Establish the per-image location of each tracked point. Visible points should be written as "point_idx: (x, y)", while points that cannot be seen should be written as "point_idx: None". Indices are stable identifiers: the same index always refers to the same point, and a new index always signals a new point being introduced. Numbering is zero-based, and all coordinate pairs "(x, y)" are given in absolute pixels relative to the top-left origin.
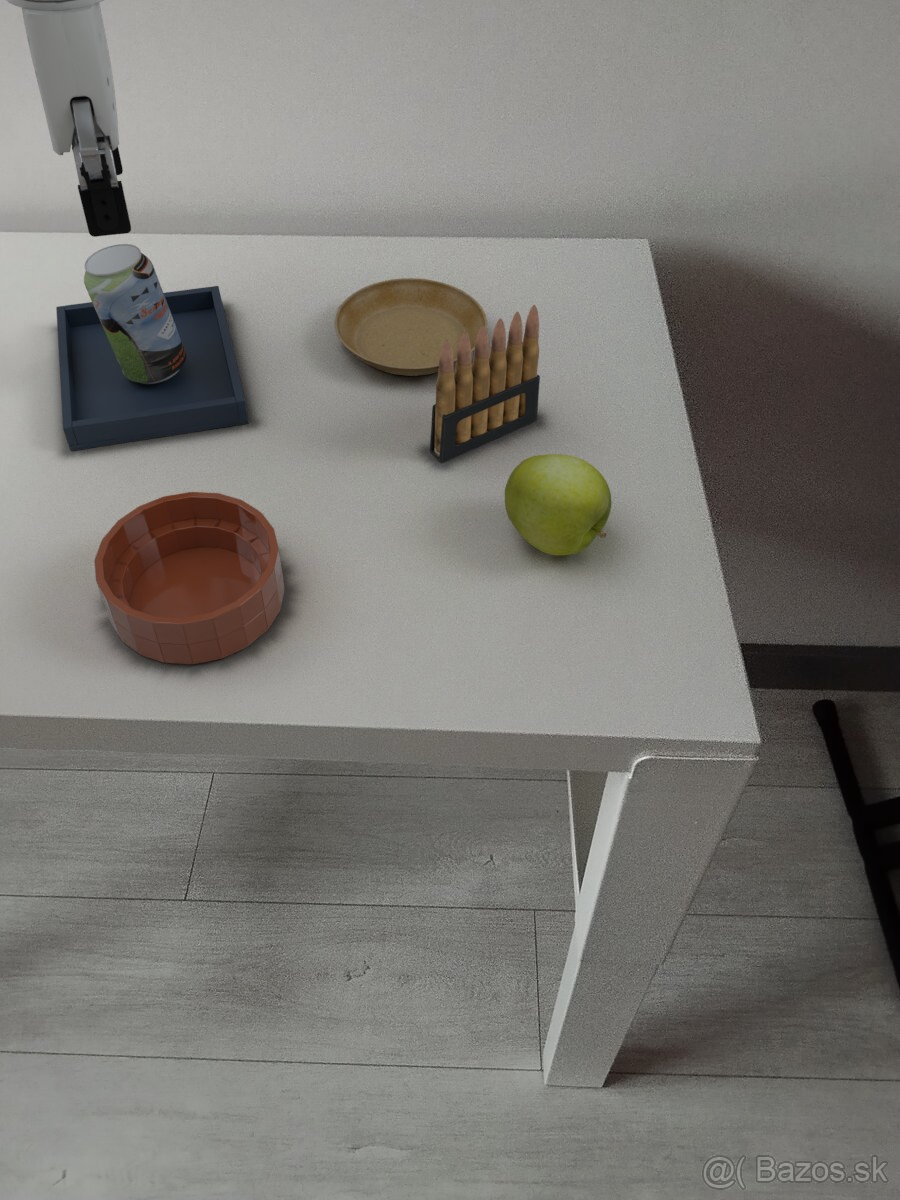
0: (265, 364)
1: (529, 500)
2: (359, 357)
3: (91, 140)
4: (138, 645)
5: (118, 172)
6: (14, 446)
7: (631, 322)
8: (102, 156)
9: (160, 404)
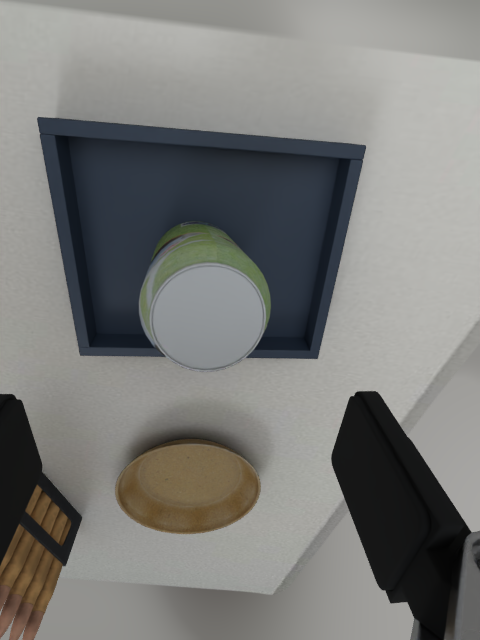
0: None
1: None
2: (146, 452)
3: None
4: None
5: (334, 459)
6: (75, 21)
7: (176, 577)
8: (360, 481)
9: (130, 255)
